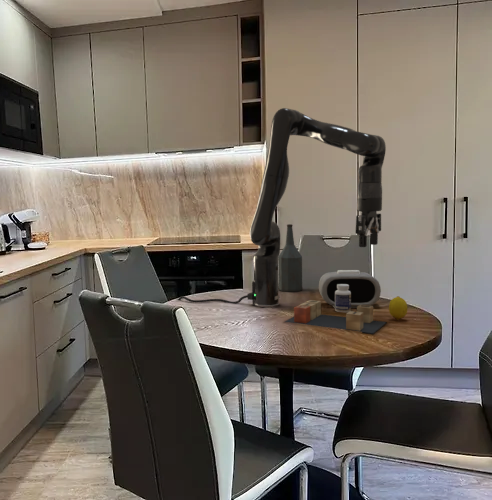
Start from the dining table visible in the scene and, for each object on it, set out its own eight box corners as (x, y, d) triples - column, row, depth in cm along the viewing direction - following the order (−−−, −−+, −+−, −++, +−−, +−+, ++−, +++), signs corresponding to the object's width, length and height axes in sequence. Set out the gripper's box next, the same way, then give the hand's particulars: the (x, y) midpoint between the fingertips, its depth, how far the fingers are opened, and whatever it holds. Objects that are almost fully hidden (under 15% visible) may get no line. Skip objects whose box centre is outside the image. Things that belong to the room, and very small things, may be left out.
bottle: (280, 292, 217) (279, 225, 214) (277, 288, 227) (276, 224, 224) (304, 292, 215) (303, 224, 212) (300, 288, 225) (299, 223, 222)
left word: (299, 318, 167) (299, 304, 166) (309, 313, 174) (309, 299, 173) (311, 320, 164) (311, 305, 164) (321, 315, 171) (320, 300, 171)
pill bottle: (352, 313, 174) (352, 286, 173) (336, 312, 175) (336, 286, 174) (349, 309, 179) (349, 283, 178) (333, 309, 180) (333, 283, 179)
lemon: (405, 318, 163) (405, 294, 163) (408, 322, 158) (409, 298, 157) (387, 317, 165) (387, 294, 164) (389, 321, 160) (390, 297, 159)
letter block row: (346, 329, 152) (346, 313, 151) (360, 319, 163) (360, 304, 163) (359, 331, 149) (359, 314, 149) (373, 320, 161) (373, 305, 160)
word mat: (284, 322, 164) (284, 321, 164) (302, 313, 176) (302, 312, 176) (373, 334, 146) (373, 333, 146) (386, 323, 158) (386, 321, 158)
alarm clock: (321, 308, 183) (321, 273, 182) (318, 302, 192) (318, 269, 191) (381, 308, 178) (381, 272, 177) (375, 303, 187) (375, 268, 186)
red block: (294, 322, 163) (293, 307, 162) (298, 319, 166) (298, 304, 165) (305, 323, 160) (305, 308, 160) (310, 321, 163) (310, 306, 163)
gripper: (367, 196, 167) (366, 243, 169) (348, 197, 157) (347, 247, 159) (389, 196, 161) (388, 244, 163) (372, 196, 152) (370, 248, 153)
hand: (368, 245), depth 161 cm, fingers open, 8 cm apart
